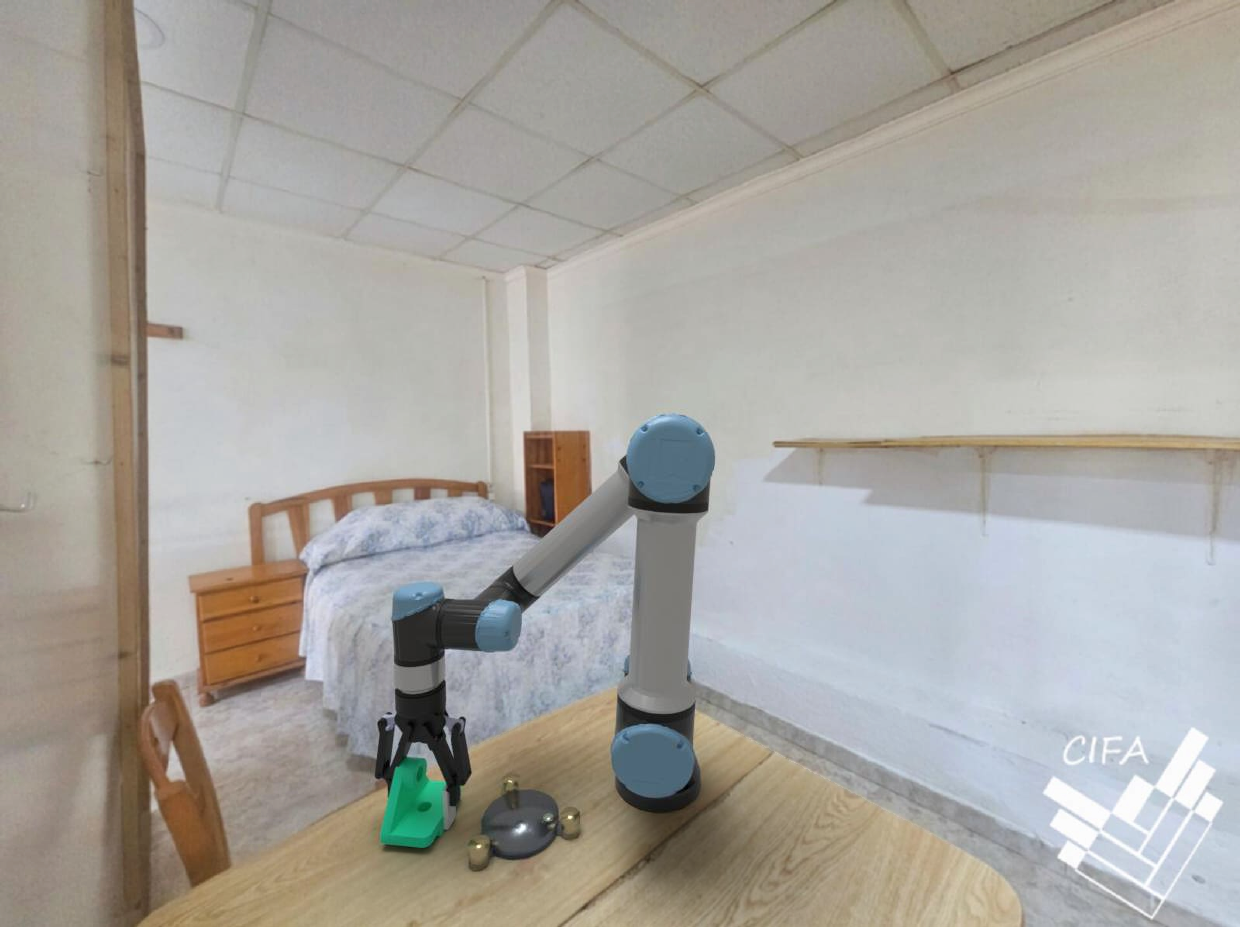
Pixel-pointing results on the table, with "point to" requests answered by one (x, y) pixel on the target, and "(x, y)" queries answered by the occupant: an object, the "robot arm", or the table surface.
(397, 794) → the camera mount
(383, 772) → the robot arm
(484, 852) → the plate
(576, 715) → the table surface
